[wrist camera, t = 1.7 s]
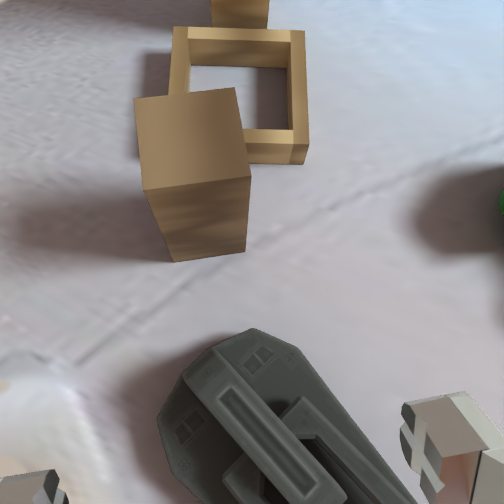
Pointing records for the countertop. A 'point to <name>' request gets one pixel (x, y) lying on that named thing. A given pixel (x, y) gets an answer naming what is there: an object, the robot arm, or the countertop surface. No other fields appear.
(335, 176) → the countertop surface
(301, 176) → the countertop surface
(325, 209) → the countertop surface
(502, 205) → the clamp
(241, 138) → the wooden block
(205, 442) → the zipper pull
